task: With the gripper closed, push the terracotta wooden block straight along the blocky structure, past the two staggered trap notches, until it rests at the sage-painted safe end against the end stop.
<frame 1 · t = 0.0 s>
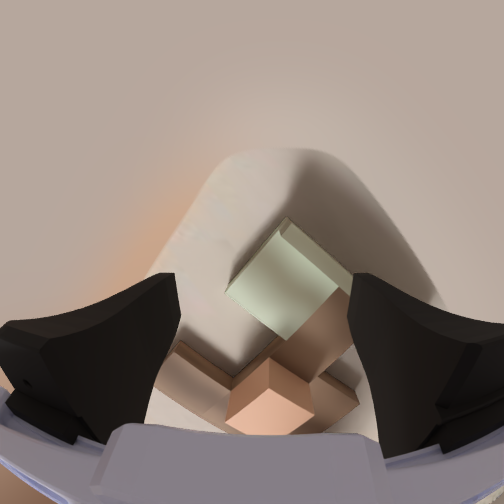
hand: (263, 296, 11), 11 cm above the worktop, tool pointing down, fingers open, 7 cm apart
blocky structure: (284, 361, 23), on the worktop
block: (269, 388, 22), point 2 cm above the worktop, touching blocky structure
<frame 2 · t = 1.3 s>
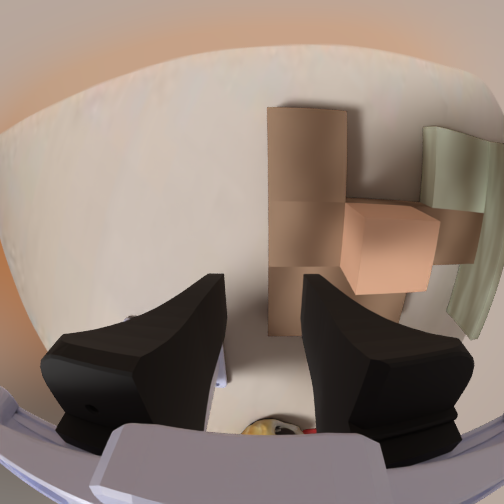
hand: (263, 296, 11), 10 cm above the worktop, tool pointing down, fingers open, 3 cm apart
blocky structure: (390, 228, 20), on the worktop
block: (376, 236, 18), point 2 cm above the worktop, touching blocky structure
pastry: (268, 431, 30), on the worktop, touching cayenne pepper
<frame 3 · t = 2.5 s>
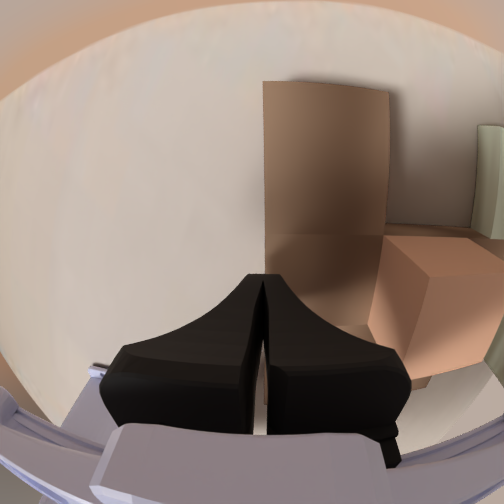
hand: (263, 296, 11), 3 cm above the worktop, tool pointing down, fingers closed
blocky structure: (432, 264, 13), on the worktop
block: (420, 281, 11), point 2 cm above the worktop, touching blocky structure
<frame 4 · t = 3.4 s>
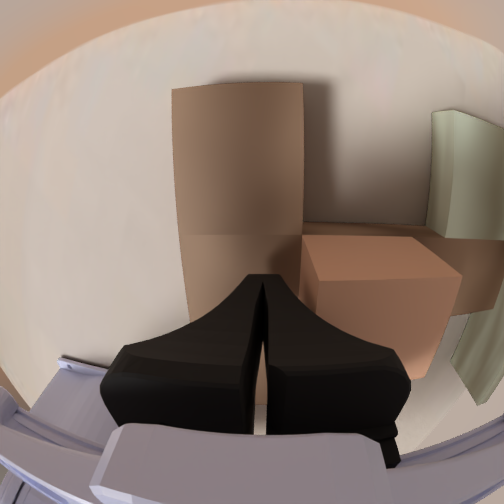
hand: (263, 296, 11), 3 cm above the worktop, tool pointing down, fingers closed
blocky structure: (379, 265, 13), on the worktop
block: (354, 284, 12), point 2 cm above the worktop, touching gripper, blocky structure
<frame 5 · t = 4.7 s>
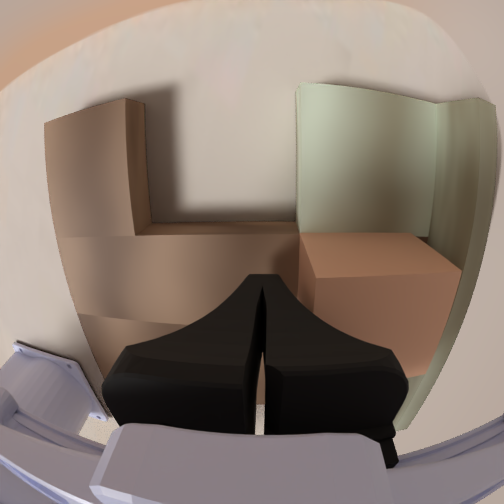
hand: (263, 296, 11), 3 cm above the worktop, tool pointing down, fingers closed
blocky structure: (243, 265, 14), on the worktop
block: (354, 281, 12), point 2 cm above the worktop, touching gripper, blocky structure
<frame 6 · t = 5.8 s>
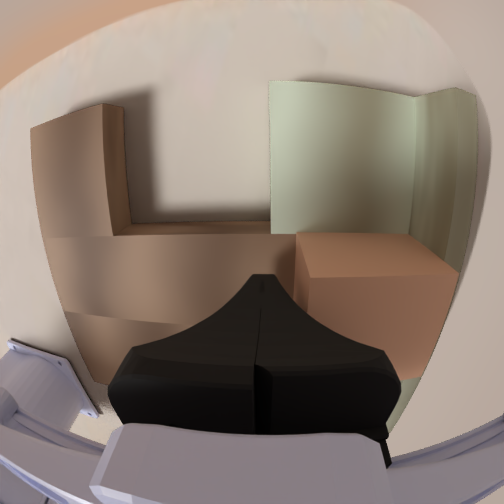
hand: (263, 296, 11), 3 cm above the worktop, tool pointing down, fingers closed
blocky structure: (219, 265, 14), on the worktop
block: (350, 282, 12), point 2 cm above the worktop, touching gripper, blocky structure
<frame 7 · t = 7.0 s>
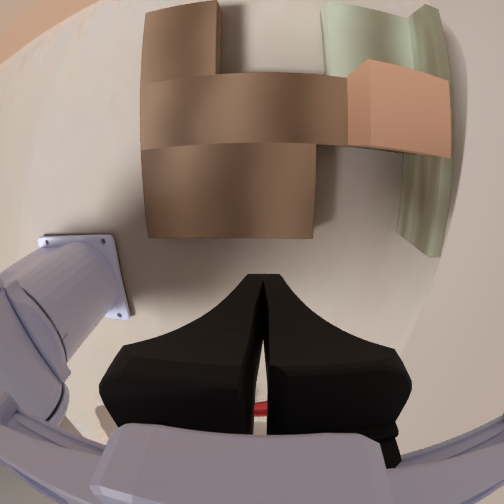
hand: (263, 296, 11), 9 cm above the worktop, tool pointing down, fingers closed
blocky structure: (288, 111, 17), on the worktop
block: (384, 115, 14), point 2 cm above the worktop, touching blocky structure
cayenne pepper: (278, 399, 27), on the worktop, touching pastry
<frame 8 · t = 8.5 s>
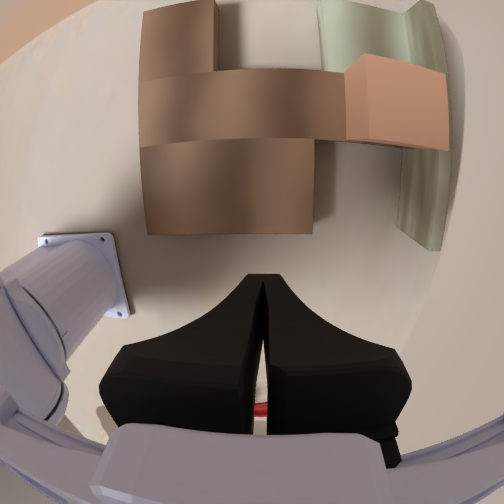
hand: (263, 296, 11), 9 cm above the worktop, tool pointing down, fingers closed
blocky structure: (286, 107, 16), on the worktop
block: (382, 109, 14), point 2 cm above the worktop, touching blocky structure
cayenne pepper: (280, 399, 27), on the worktop, touching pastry
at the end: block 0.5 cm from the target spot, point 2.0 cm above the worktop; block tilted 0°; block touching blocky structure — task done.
